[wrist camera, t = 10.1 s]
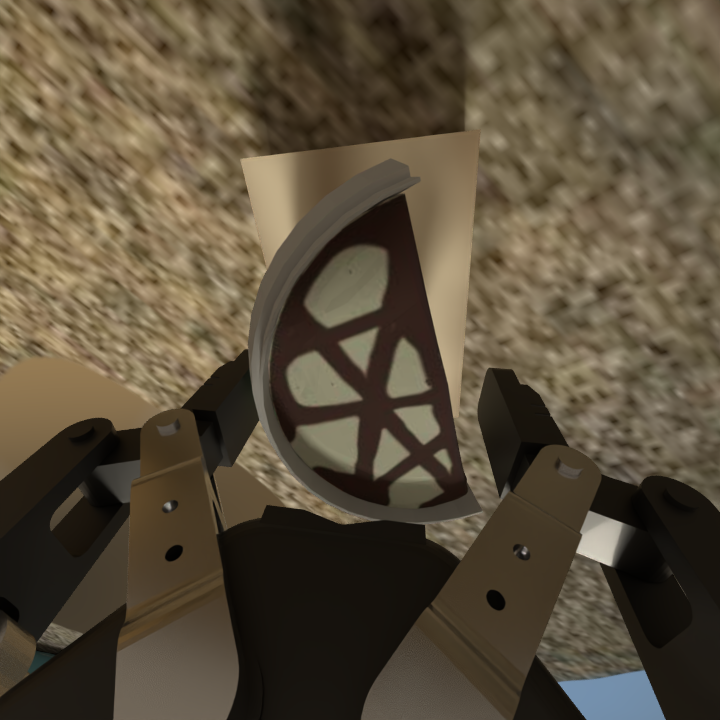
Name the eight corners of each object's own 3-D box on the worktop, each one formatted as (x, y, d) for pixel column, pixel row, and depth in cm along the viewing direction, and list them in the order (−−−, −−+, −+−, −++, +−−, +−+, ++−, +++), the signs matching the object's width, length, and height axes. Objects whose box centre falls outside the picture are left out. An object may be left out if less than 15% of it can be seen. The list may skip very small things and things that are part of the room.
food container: (229, 219, 15) (122, 249, 6) (351, 177, 15) (415, 146, 6) (320, 416, 21) (330, 574, 12) (409, 385, 21) (484, 521, 12)
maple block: (462, 138, 18) (480, 129, 14) (449, 376, 26) (458, 417, 22) (276, 160, 20) (240, 159, 15) (318, 378, 28) (302, 416, 24)
